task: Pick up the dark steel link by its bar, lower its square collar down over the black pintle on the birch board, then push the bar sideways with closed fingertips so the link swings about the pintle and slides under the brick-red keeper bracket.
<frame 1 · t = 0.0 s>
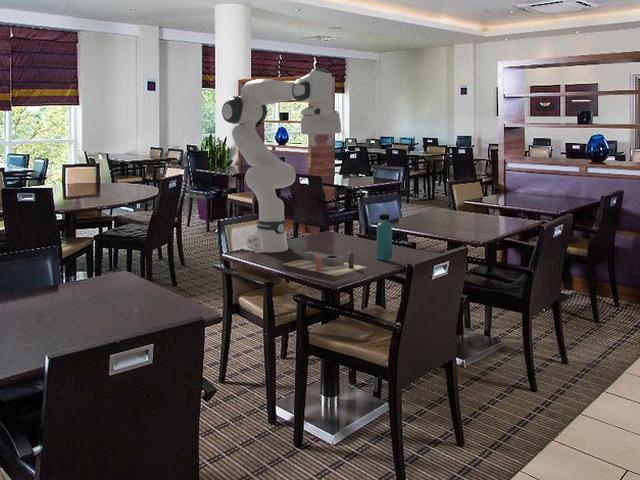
hand: (321, 145, 263), 48 cm above the table, tool pointing down, fingers open, 8 cm apart
pintle: (351, 270, 256), resting on base board
keeper: (318, 271, 255), resting on base board
base board: (324, 268, 260), on the table
link: (306, 258, 272), point 1 cm above the table, touching base board
beverage bottle: (384, 262, 271), on the table
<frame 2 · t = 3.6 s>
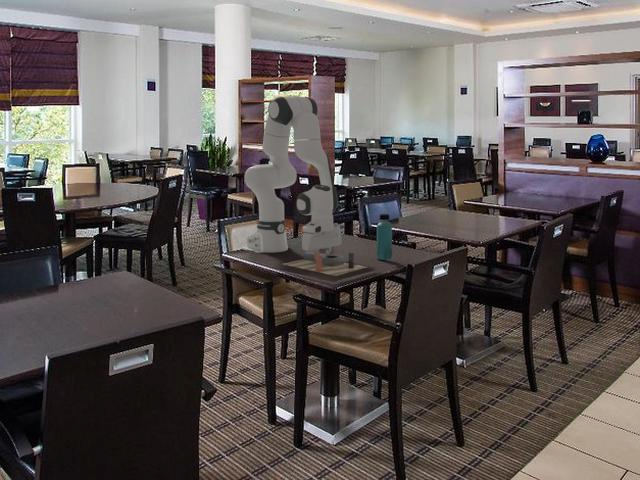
hand: (322, 259, 266), 2 cm above the table, tool pointing down, fingers closed on link, 3 cm apart
link: (306, 258, 272), point 1 cm above the table, touching base board, gripper
everything else where it was.
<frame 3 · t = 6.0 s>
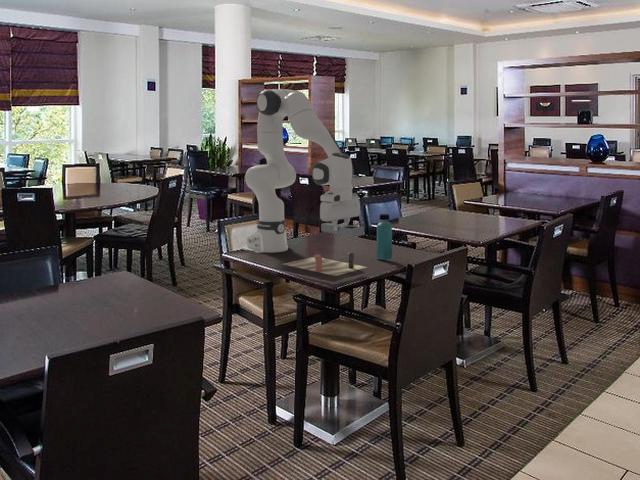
hand: (340, 230, 257), 15 cm above the table, tool pointing down, fingers closed on link, 3 cm apart
link: (324, 230, 263), point 14 cm above the table, touching gripper
everything else where it was.
when the fingers open (3 cm above the table, at t = 8.4 s): link drops 1 cm, resting on base board.
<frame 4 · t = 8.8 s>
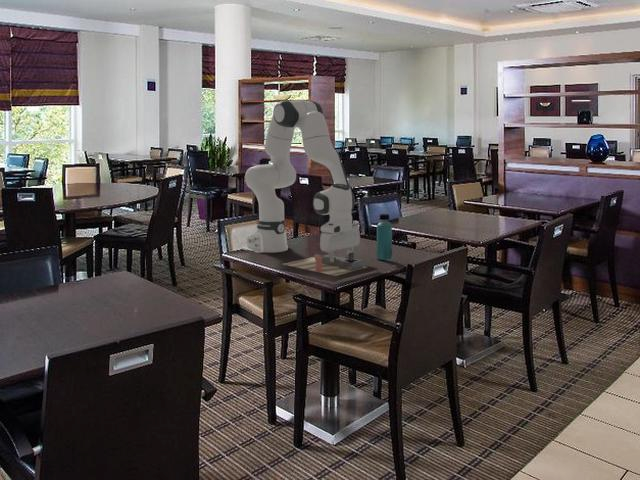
hand: (340, 259, 259), 3 cm above the table, tool pointing down, fingers open, 8 cm apart
link: (324, 262, 266), point 1 cm above the table, touching base board
everything else where it was.
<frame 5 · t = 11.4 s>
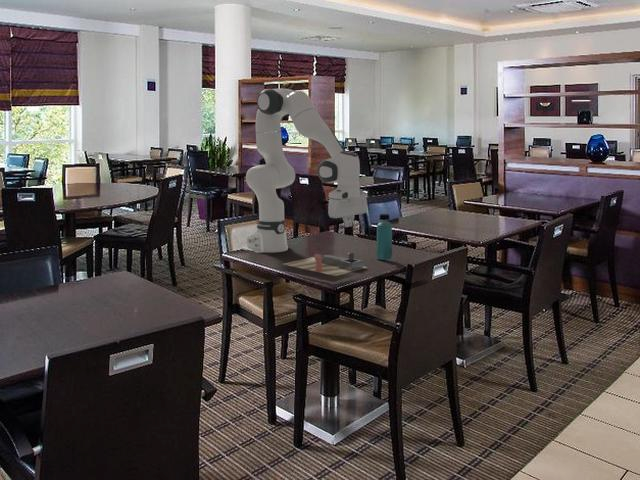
hand: (348, 226, 262), 16 cm above the table, tool pointing down, fingers closed
nothing on the table moved.
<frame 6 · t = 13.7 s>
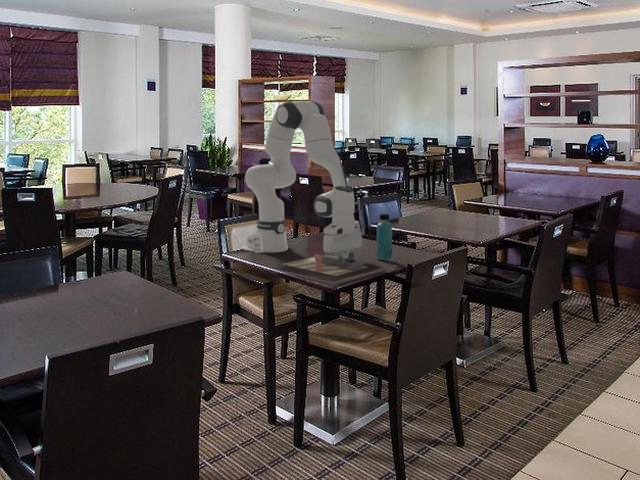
hand: (343, 261, 263), 2 cm above the table, tool pointing down, fingers closed
link: (324, 262, 266), point 1 cm above the table, touching base board, gripper
everything else where it was.
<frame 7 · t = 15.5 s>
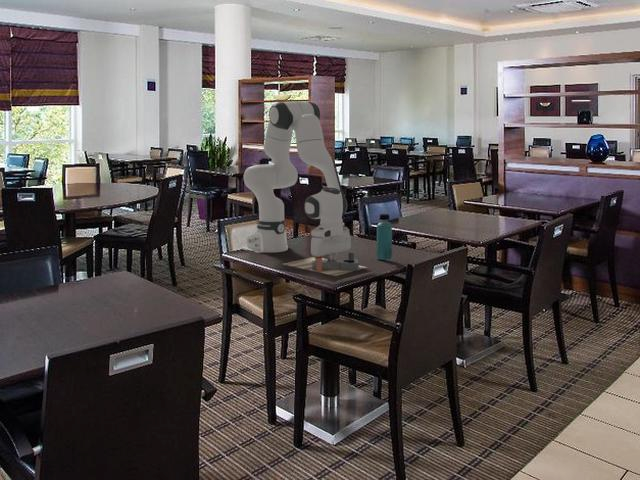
hand: (331, 264, 258), 2 cm above the table, tool pointing down, fingers closed
link: (312, 269, 255), point 1 cm above the table, touching base board, gripper, keeper
everything else where it was.
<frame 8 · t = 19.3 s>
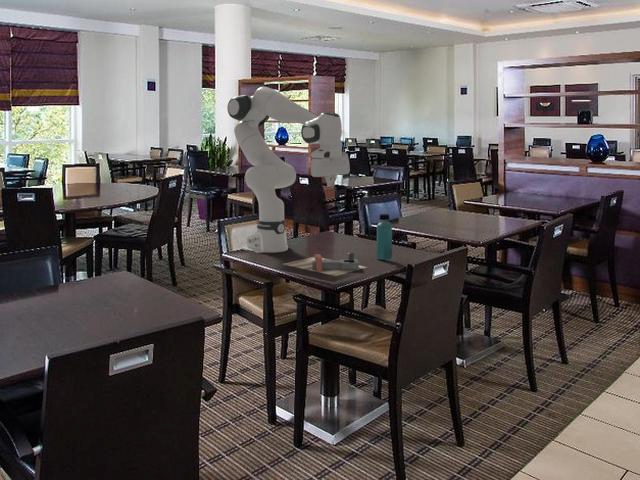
hand: (330, 186, 268), 31 cm above the table, tool pointing down, fingers closed
link: (312, 269, 255), point 1 cm above the table, touching base board
everything else where it was.
at the end: link 1.1 cm from the target spot, point 1.0 cm above the table; link tilted 0°; the gripper is holding nothing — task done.
